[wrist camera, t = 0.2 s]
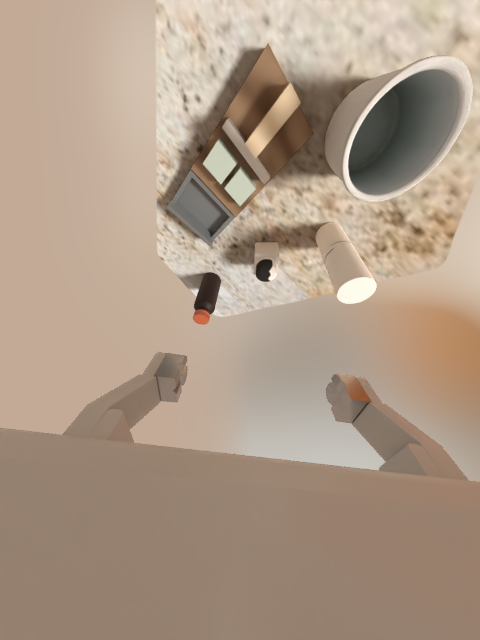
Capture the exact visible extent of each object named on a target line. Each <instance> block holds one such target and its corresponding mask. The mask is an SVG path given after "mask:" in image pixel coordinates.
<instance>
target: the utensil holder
mask: <svg viewBox="0 0 480 640" xmlns="http://www.w3.org/2000/svg"><path fill="white" fill-rule="evenodd" d="M472 90H473V88H472V78H471V75H470V72H469V70H468V68H467V66H466V65H465V64H464V63H463V62H462V61H461V60H459V59H457V58H455V57H452V56H447V55H438V56H431V57H427V58H424V59H421V60H418V61H416V62H414V63H412V64H410V65H408V66H406V67H404V68H403V69H400V70H397V71H394V72H391V73H387V74H384V75H381V76H379V77H376V78H374V79H371V80H368V81H366V82H364V83H362V84H361V85H359V86H358V87H356V88H355V89H354V90H352V91H351V92H350V93H349V94H348V95H347V96H346V97H345V98H344V100H343V101H342V102H341V103H340V105H339V106H338V108H337V109H336V111H335V112H334V114H333V116H332V118H331V121H330V123H329V126H328V129H327V132H326V137H325V156H326V160H327V162H328V164H329V166H330V167H331V169H332V170H333V171H334V173H335V174H336V175H337V176H338V177H339V178H340V179H341V180H342V181H343V183H344V185H345V187H346V189H347V190H348V191H349V192H350V194H352V195H353V196H354V197H356V198H357V199H359V200H362V201H366V202H378V201H384V200H387V199H390V198H393V197H395V196H398V195H400V194H402V193H404V192H405V191H407V190H409V189H410V188H412V187H413V186H415V185H416V184H417V183H419V182H420V181H421V180H422V179H424V178H425V177H426V176H427V175H428V174H429V173H430V172H431V171H432V170H433V169H434V168H435V167H436V166H437V165H438V164H439V163H440V161H441V160H442V159H443V158H444V156H445V155H446V154H447V153H448V151H449V150H450V148H451V147H452V145H453V144H454V142H455V141H456V139H457V137H458V136H459V134H460V132H461V130H462V128H463V126H464V124H465V121H466V119H467V116H468V113H469V109H470V106H471V100H472Z"/></svg>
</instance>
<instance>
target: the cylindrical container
mask: <svg viewBox="0 0 480 640" xmlns="http://www.w3.org/2000/svg"><path fill="white" fill-rule="evenodd" d="M316 242H317V245H318V247H319V250H320V253H321V255H322V258H323V261H324V263H325V266H326V269H327V271H328V274H329V276H330V279H331V282H332V284H333V287H334V290H335V292H336V295H337V298H338V299H339V300H340V301H341V302H343V303H347V304H353V303H358V302H361V301H363V300H365V299H367V298H369V297H370V296H371V295H372V294H373V293H374V292H375V290H376V287H377V286H376V282H375V280H374V279H373V277H372V275H371V274H370V272H369V271H368V269H367V267H366V266H365V264H364V263H363V261H362V259H361V258H360V256H359V254H358V253H357V251H356V250H355V248H354V246H353V245H352V243H351V242H350V240H349V238H348V237H347V235H346V234H345V232H344V230H343V229H342V227H341V226H340V224H338V223H336V222H329V223H326V224H324V225H323V226H322V227H321V228H320V229H319V230H318V231H317V233H316Z"/></svg>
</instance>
